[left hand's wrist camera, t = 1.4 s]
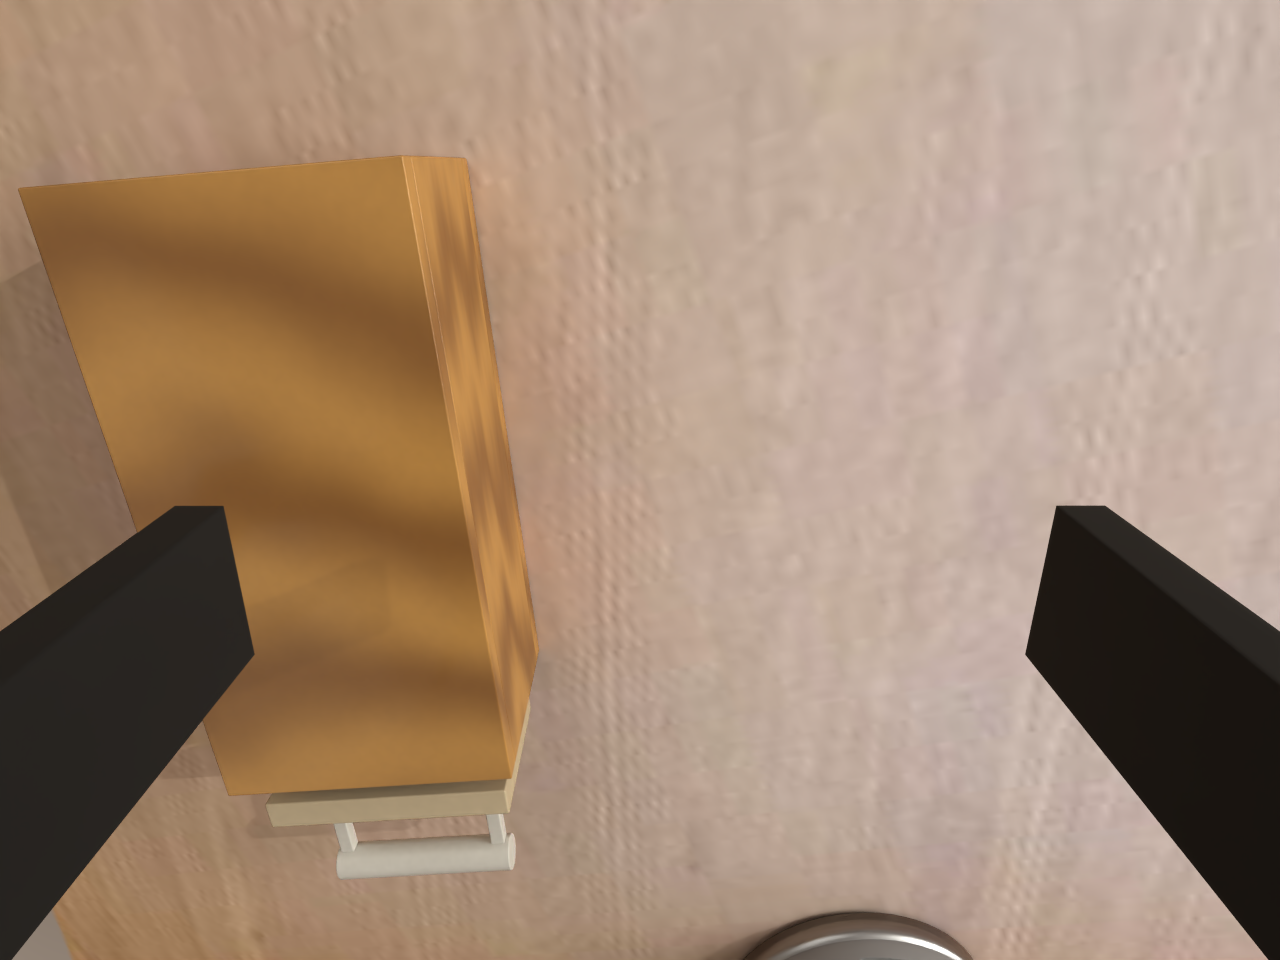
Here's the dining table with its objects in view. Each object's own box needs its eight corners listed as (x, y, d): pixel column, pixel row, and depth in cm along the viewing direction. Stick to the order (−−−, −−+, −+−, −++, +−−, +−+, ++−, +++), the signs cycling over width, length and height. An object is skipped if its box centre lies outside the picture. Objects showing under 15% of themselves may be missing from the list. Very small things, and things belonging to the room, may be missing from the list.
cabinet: (539, 650, 38) (511, 779, 30) (314, 665, 38) (228, 796, 30) (466, 157, 30) (402, 154, 22) (181, 181, 30) (16, 187, 22)
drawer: (545, 797, 40) (527, 913, 34) (355, 809, 40) (303, 925, 34) (461, 266, 30) (415, 291, 24) (212, 286, 30) (103, 316, 24)
